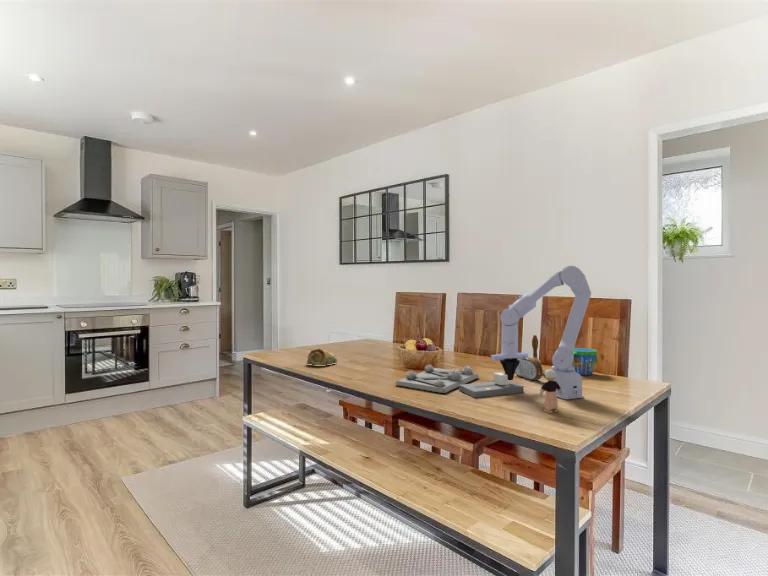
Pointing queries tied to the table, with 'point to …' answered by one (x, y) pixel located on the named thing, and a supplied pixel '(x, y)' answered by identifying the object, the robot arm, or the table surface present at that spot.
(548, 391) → the grandmother figurine
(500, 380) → the switch tab
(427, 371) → the grey knobbed board
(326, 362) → the pastry
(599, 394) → the table surface
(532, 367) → the tin
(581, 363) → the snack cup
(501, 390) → the switch board
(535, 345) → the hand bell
